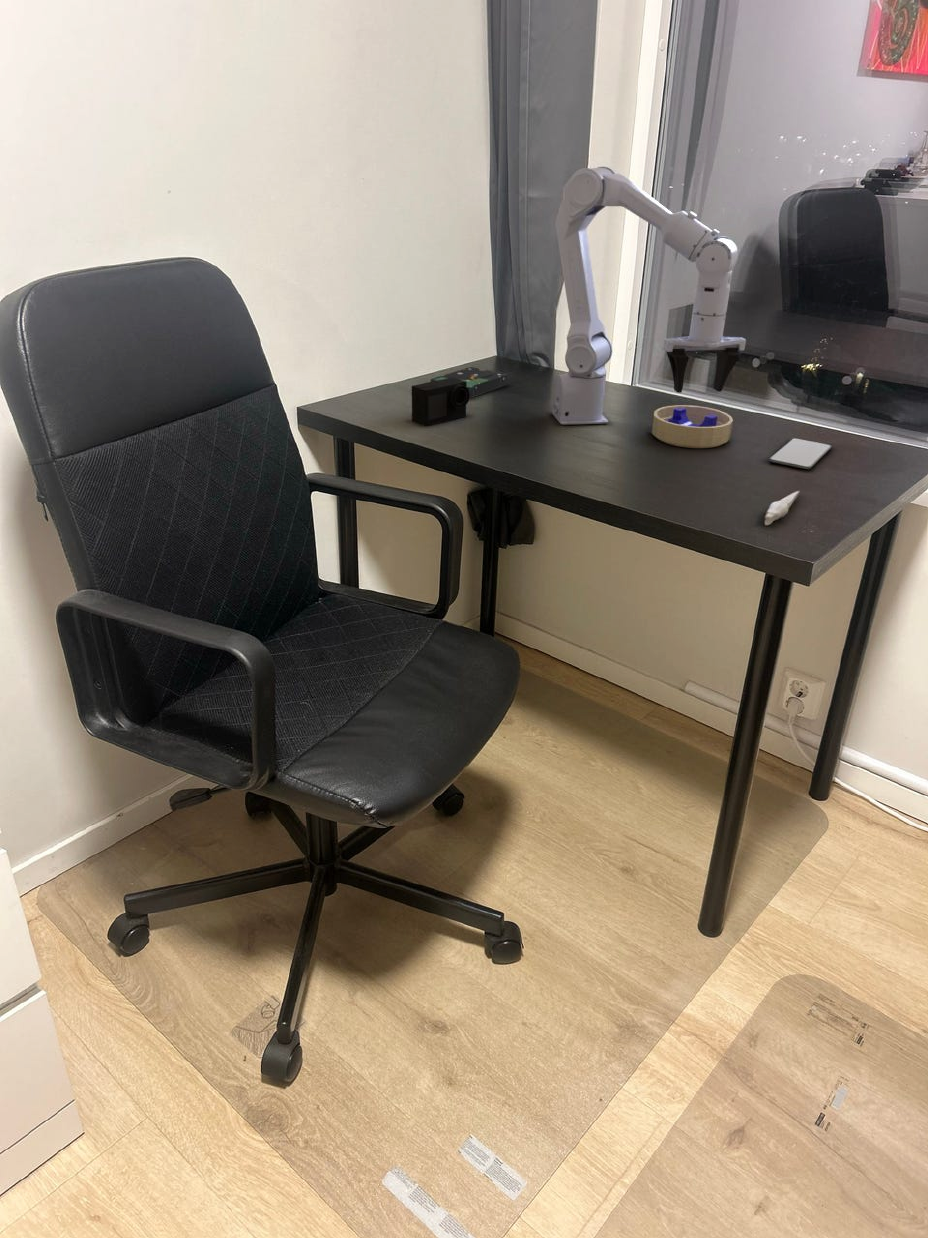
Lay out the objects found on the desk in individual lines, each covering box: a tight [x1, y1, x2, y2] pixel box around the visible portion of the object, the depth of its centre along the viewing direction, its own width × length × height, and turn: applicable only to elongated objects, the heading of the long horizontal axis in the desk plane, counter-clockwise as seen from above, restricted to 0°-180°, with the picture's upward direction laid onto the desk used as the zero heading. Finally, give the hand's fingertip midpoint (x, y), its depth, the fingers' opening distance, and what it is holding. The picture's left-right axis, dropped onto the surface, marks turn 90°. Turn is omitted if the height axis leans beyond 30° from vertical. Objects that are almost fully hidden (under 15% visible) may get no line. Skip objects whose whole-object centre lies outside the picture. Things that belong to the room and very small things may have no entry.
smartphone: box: [769, 437, 832, 470], centre depth 156 cm, size 7×1×15 cm
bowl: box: [651, 404, 734, 449], centre depth 163 cm, size 14×14×4 cm
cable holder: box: [668, 407, 718, 427], centre depth 163 cm, size 8×4×4 cm, turn 48°
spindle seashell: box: [764, 490, 800, 526], centre depth 133 cm, size 15×3×2 cm, turn 144°
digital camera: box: [411, 378, 470, 427], centre depth 169 cm, size 10×5×7 cm, turn 131°
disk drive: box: [430, 366, 509, 399], centre depth 190 cm, size 10×3×15 cm
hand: (697, 390), depth 160 cm, fingers open, 7 cm apart
